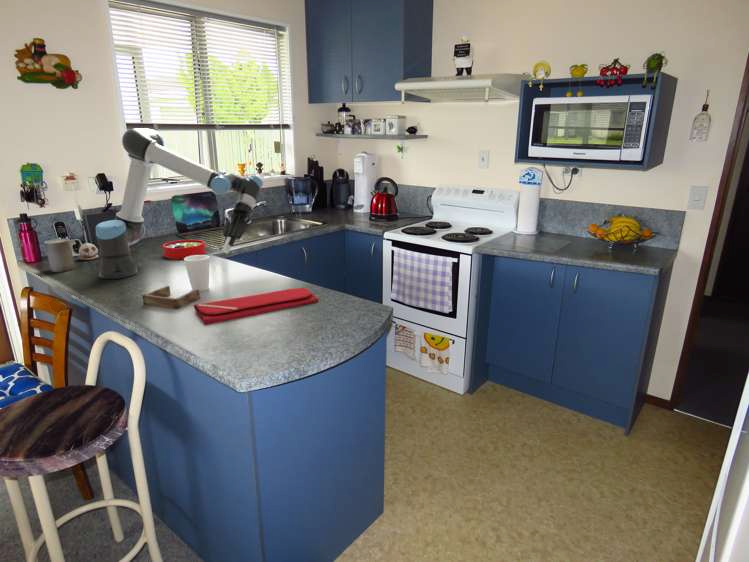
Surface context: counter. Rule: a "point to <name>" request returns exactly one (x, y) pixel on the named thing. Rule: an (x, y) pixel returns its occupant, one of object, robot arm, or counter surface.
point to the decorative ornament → (88, 250)
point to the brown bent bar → (161, 300)
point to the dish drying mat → (253, 305)
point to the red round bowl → (183, 249)
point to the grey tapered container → (59, 255)
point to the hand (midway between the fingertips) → (225, 251)
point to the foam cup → (198, 271)
